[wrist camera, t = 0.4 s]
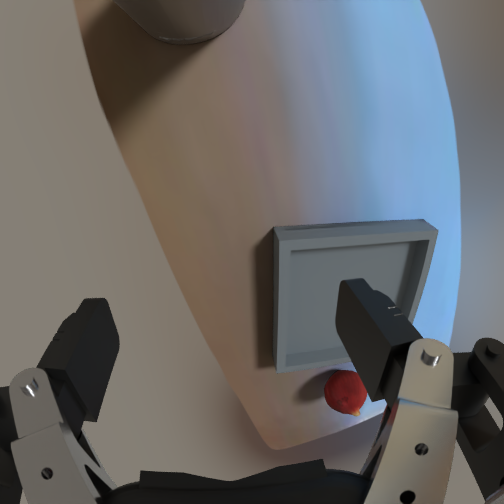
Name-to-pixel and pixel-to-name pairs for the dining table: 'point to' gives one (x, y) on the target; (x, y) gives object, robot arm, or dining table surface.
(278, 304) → the tray
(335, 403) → the onion
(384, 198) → the dining table surface
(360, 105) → the dining table surface
